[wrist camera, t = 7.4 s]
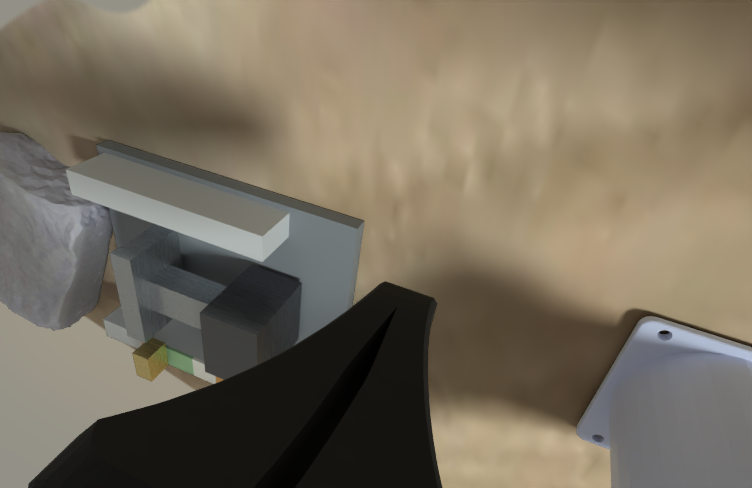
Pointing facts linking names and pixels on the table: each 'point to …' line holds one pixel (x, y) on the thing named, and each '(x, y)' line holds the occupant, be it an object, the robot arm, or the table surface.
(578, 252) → the table surface
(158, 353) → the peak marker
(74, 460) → the robot arm
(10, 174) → the stone block
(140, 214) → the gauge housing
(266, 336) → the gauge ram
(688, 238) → the table surface
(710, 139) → the table surface
